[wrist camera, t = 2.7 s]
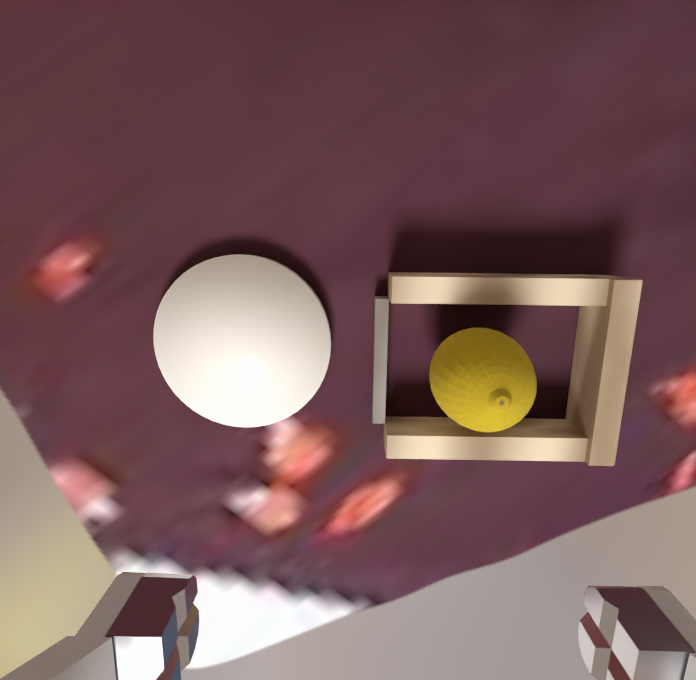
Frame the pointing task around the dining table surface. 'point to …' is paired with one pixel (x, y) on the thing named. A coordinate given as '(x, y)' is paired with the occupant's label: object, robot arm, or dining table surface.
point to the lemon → (483, 379)
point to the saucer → (242, 340)
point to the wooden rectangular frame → (586, 375)
